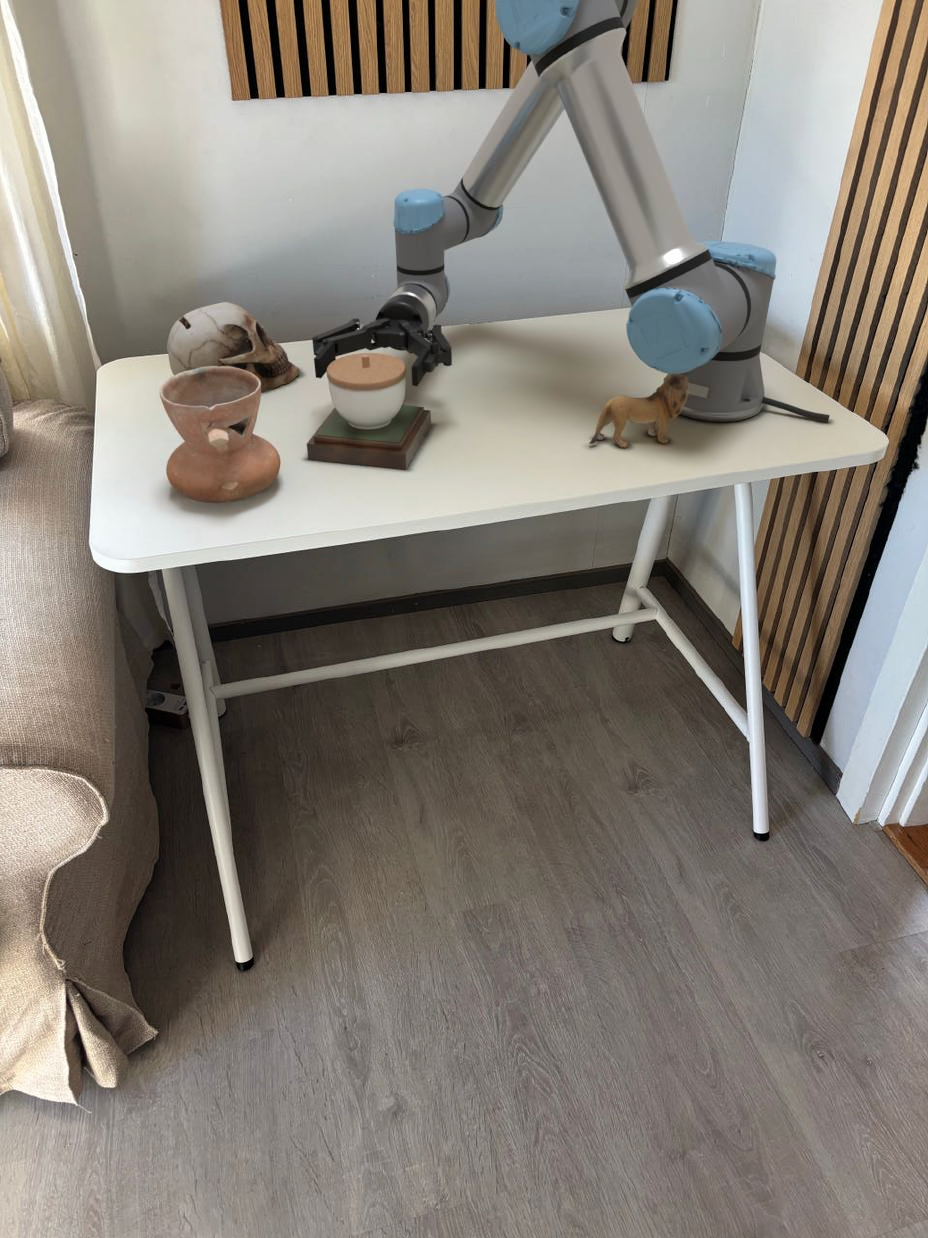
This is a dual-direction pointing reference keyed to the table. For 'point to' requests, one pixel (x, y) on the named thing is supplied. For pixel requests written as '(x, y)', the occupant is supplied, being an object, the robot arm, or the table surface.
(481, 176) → the robot arm
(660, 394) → the lion figurine
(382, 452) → the holder
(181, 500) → the table surface
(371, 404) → the lidded bowl
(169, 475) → the orange-brown waisted vessel
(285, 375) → the coin bank
